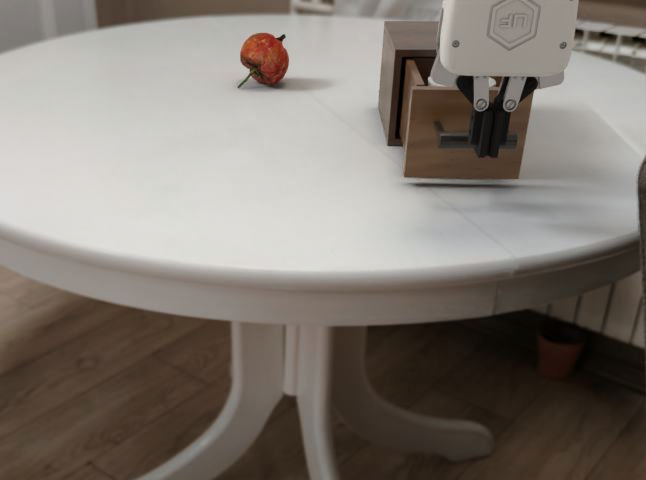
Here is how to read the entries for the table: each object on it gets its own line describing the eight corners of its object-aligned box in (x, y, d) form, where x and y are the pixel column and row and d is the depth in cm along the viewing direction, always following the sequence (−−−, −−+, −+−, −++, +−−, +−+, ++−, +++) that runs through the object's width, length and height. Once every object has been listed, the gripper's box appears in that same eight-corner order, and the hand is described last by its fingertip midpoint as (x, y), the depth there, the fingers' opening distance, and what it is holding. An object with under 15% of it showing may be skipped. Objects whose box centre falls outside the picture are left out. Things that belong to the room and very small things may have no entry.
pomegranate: (261, 110, 112) (313, 59, 111) (228, 69, 108) (281, 16, 108) (244, 102, 118) (292, 53, 118) (212, 63, 114) (262, 13, 114)
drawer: (531, 201, 76) (549, 107, 71) (409, 199, 76) (418, 106, 72) (491, 134, 93) (503, 54, 88) (391, 132, 93) (398, 53, 89)
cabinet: (498, 147, 92) (514, 50, 86) (387, 145, 92) (395, 49, 86) (475, 107, 105) (487, 21, 99) (377, 106, 105) (384, 20, 100)
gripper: (426, -82, 57) (402, 166, 67) (640, -81, 57) (584, 169, 67) (415, -90, 64) (394, 138, 74) (607, -89, 63) (560, 140, 73)
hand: (484, 152), depth 70 cm, fingers closed
